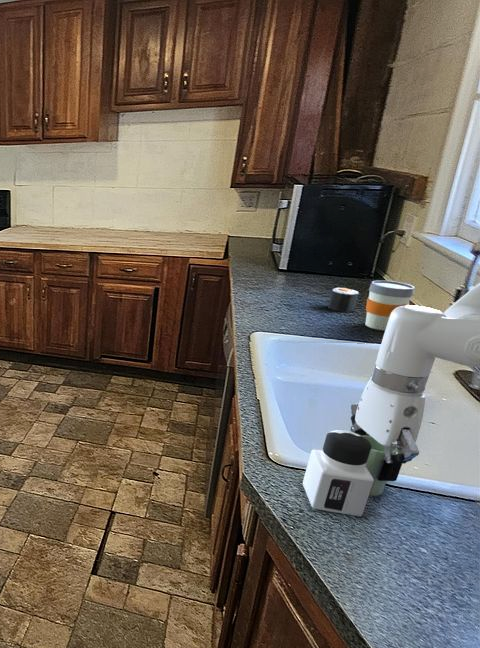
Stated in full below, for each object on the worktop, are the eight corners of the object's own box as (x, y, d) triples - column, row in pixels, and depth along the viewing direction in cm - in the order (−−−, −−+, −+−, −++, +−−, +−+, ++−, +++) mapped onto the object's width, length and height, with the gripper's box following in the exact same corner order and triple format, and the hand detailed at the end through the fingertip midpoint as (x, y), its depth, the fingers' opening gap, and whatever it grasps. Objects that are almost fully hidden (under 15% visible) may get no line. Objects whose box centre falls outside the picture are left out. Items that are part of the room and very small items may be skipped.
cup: (369, 476, 101) (383, 435, 97) (390, 496, 95) (405, 453, 92) (338, 475, 101) (350, 435, 97) (356, 495, 95) (370, 452, 92)
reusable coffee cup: (357, 319, 193) (369, 278, 187) (399, 324, 187) (412, 283, 182) (361, 328, 183) (373, 286, 177) (404, 334, 177) (418, 291, 171)
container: (362, 518, 89) (384, 452, 84) (311, 509, 91) (330, 444, 86) (348, 491, 96) (368, 429, 91) (301, 483, 98) (318, 422, 93)
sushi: (344, 313, 199) (349, 292, 196) (323, 307, 206) (328, 287, 203) (358, 310, 202) (363, 290, 199) (337, 305, 209) (342, 285, 206)
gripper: (460, 402, 81) (424, 495, 88) (387, 359, 98) (362, 441, 104) (411, 401, 82) (379, 494, 88) (346, 358, 98) (323, 440, 104)
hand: (369, 465), depth 96 cm, fingers open, 8 cm apart
